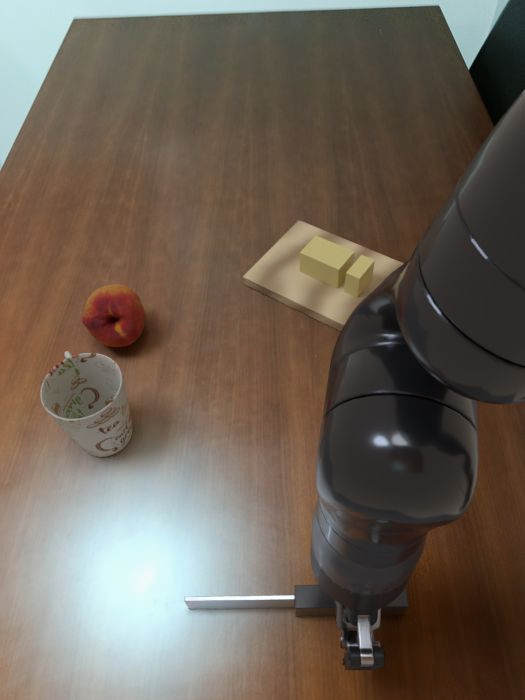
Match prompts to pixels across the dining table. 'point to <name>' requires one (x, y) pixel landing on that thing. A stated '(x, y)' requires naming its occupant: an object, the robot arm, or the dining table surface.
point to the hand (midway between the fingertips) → (348, 601)
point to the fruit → (114, 315)
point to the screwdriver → (290, 602)
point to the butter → (326, 261)
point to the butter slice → (359, 275)
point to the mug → (89, 402)
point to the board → (305, 291)
